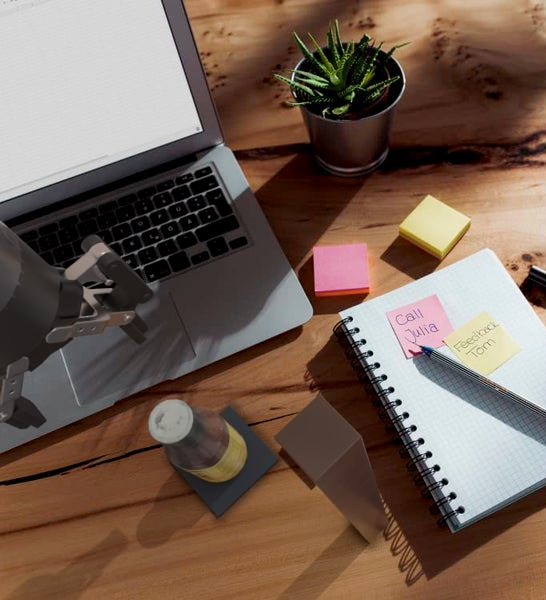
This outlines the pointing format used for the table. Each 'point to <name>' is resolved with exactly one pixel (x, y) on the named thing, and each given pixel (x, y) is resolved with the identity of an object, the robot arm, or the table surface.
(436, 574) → the table surface
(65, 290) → the robot arm
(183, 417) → the sauce bottle
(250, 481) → the mat
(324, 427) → the walnut post
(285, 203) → the table surface
